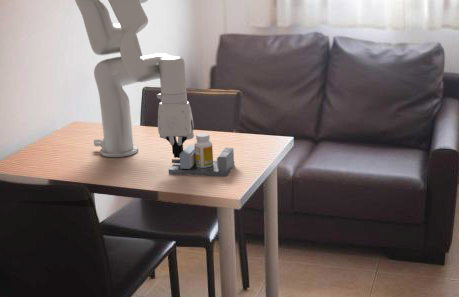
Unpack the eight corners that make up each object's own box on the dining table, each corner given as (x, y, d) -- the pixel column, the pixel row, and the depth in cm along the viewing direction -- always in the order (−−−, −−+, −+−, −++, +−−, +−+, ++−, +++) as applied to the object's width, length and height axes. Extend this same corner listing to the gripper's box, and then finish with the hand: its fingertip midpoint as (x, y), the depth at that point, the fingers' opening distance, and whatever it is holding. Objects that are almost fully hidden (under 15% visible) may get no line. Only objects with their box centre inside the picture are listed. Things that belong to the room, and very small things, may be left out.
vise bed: (168, 174, 207) (167, 155, 205) (179, 163, 216) (177, 145, 214) (226, 176, 202) (225, 157, 200) (234, 165, 211) (233, 147, 210)
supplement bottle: (214, 162, 210) (213, 132, 208) (211, 168, 205) (209, 137, 202) (197, 162, 211) (196, 132, 209) (193, 168, 206) (191, 137, 204)
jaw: (167, 167, 207) (166, 153, 205) (177, 158, 215) (176, 144, 214) (191, 168, 205) (190, 154, 203) (199, 159, 213) (198, 145, 212)
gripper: (146, 100, 202) (151, 159, 208) (194, 101, 199) (198, 161, 204) (155, 95, 209) (159, 152, 215) (201, 95, 206) (205, 153, 211)
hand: (178, 156), depth 209 cm, fingers closed
